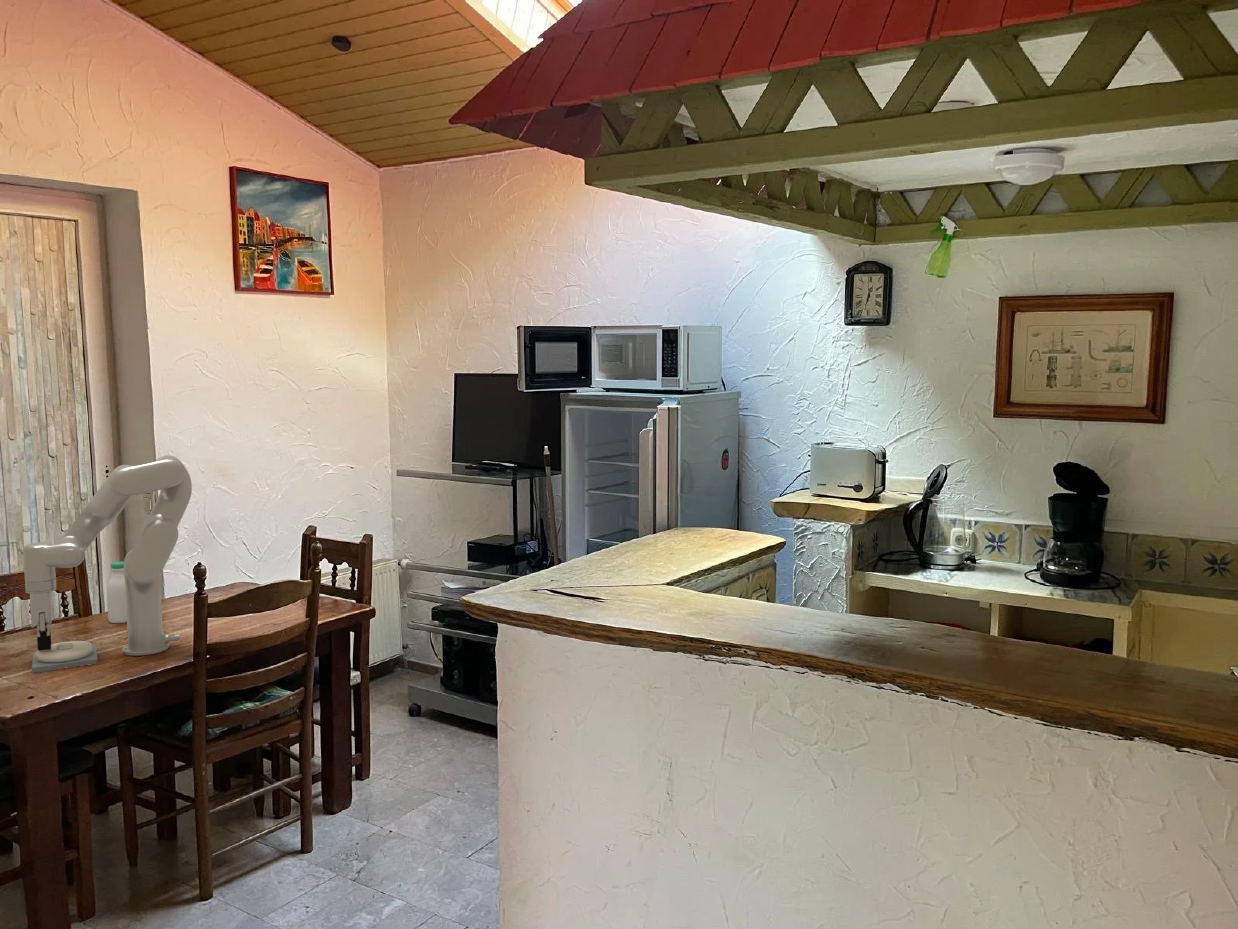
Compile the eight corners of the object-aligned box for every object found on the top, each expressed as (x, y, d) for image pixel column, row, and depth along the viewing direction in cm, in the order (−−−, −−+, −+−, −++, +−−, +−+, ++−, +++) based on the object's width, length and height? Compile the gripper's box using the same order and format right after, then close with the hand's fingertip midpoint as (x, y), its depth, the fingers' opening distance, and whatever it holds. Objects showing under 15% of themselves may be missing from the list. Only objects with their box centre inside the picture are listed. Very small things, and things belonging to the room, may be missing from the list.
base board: (96, 649, 279) (96, 644, 279) (97, 664, 265) (97, 659, 265) (34, 657, 271) (33, 652, 271) (32, 673, 257) (31, 667, 257)
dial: (57, 647, 275) (56, 624, 274) (103, 648, 274) (101, 625, 274) (25, 661, 261) (23, 638, 261) (73, 663, 261) (71, 639, 260)
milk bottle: (120, 624, 306) (117, 565, 303) (103, 622, 308) (100, 564, 306) (139, 618, 313) (136, 561, 311) (122, 616, 315) (119, 559, 313)
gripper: (26, 581, 268) (30, 642, 270) (24, 593, 254) (28, 657, 256) (56, 578, 272) (60, 638, 274) (55, 590, 258) (59, 653, 260)
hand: (44, 647), depth 265 cm, fingers open, 3 cm apart
